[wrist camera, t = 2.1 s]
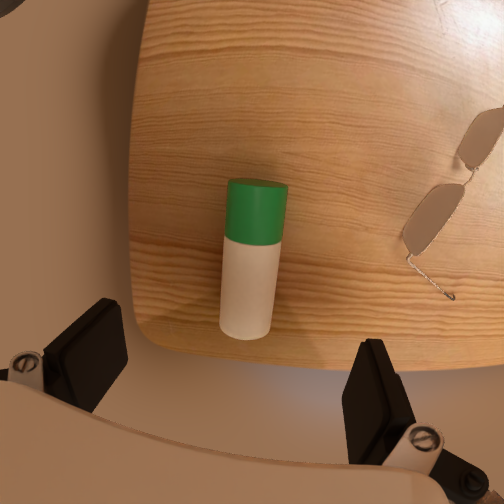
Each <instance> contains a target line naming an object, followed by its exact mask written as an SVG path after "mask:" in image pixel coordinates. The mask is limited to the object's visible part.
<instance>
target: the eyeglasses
mask: <svg viewBox="0 0 504 504" xmlns="http://www.w3.org/2000/svg"><path fill="white" fill-rule="evenodd" d="M503 129H504V105H503V108H496V109H491V110H488V111H485V112H483V113H481V114H480V115H479V116H477V118H476V119H475V120H474V121H473V123H472V124H471V126H470V127H469V129H468V131H467V132H466V134H465V136H464V138H463V140H462V142H461V144H460V147H459V150H458V155H459V157H460V158H461V160H462V161H463V162H464V163H465V166H466V168H467V169H468V170H470V171H472V172H473V174H472V176H471V178H470V179H469V181H468V182H466V183H465V184H464V185H461V184H445V185H441V186H438V187H436V188H434V189H433V190H432V191H431V192H430V193H429V194H428V195H427V196H426V197H425V198H424V200H423V201H422V202H421V203H420V205H419V206H418V207H417V209H416V210H415V211H414V213H413V214H412V216H411V217H410V219H409V220H408V222H407V224H406V226H405V228H404V230H403V240H404V243H405V245H406V247H407V249H408V250H409V252H410V253H409V254H408V256H407V257H406V260H407V262H408V263H409V264H410V265H411V266H412V267H413V268H415V269H416V270H417V271H418V272H419V273H421V274H422V275H423V276H424V277H425V278H427V279H428V280H429V281H430V282H431V283H433V284H434V285H435V286H436V287H437V288H438V289H440V288H439V287H438V286H437V285H436V284H435V283H434V282H433V281H432V280H431V279H430V278H428V277H427V276H426V275H425V274H424V273H423V272H422V271H421V270H420V269H418V268H417V267H416V266H415V265H414V264H413V263H412V262H410V258H411V257H412V256H413V255H414V256H416V257H417V256H419V255H421V254H422V253H423V252H424V251H425V250H426V249H427V248H428V247H429V245H430V244H431V243H432V242H433V241H434V239H435V238H436V237H437V236H438V234H439V233H440V232H441V231H442V229H443V228H444V226H445V225H446V224H447V222H448V221H449V220H450V218H451V217H452V215H453V214H454V212H455V211H456V209H457V208H458V206H459V204H460V203H461V201H462V199H463V197H464V194H465V186H466V185H468V184H469V183H470V182H471V180H472V179H473V177H474V175H475V171H478V170H479V168H478V167H479V166H481V165H482V164H483V163H484V162H485V161H486V160H487V158H488V157H489V155H490V154H491V152H492V151H493V149H494V147H495V145H496V143H497V142H498V140H499V138H500V136H501V134H502V132H503ZM440 290H441V289H440ZM441 291H442V292H443V293H444V294H445V295H446V296H447V297H448V298H450V299H451V300H453V301H454V300H455V296H454V295H453V297H454V298H451V297H450V296H449V295H448V294H446V293H445V292H444V291H443V290H441Z"/></svg>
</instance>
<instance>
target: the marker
mask: <svg viewBox="0 0 504 504" xmlns="http://www.w3.org/2000/svg"><path fill="white" fill-rule="evenodd" d="M287 192H288V186H287V185H285V184H282V183H278V182H273V181H266V180H257V179H231V180H229V181H228V191H227V204H226V218H225V233H224V234H225V235H224V248H223V265H222V282H221V301H220V322H219V325H220V328H221V330H222V331H223V332H224V333H225V334H227V335H228V336H230V337H233V338H236V339H241V340H254V339H259V338H261V337H263V336H265V335H266V334H267V333H268V332H269V330H270V324H271V317H272V310H273V303H274V296H275V289H276V281H277V274H278V266H279V258H280V251H281V243H282V235H283V226H284V218H285V210H286V201H287Z"/></svg>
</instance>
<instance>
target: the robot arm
mask: <svg viewBox="0 0 504 504" xmlns="http://www.w3.org/2000/svg"><path fill="white" fill-rule="evenodd" d="M43 351H44V355H43V356H42V357H41V356H40V354H38V353H36V352H33V351H24V352H21V353H19V354H17V355H15V356H14V357H13V358H12V359H11V361H10V364H9V368H8V369H2V370H0V504H504V499H503V498H502V497H501V496H500V495H498V493H497V492H496V491H494V490H493V491H492V492H490V491H489V490H488V487H489V480H488V478H487V475H486V474H485V473H484V472H483V471H482V470H481V469H479V468H477V467H476V466H474V465H472V464H470V463H468V462H466V461H464V460H463V459H461V458H459V457H457V456H456V455H454V454H452V453H450V452H448V451H447V450H445V449H443V446H444V437H443V435H442V432H441V431H440V430H439V429H438V428H437V427H435V426H434V425H431V424H429V423H423V422H420V423H416V420H415V417H414V414H413V411H412V408H411V406H410V402H409V400H408V397H407V394H406V392H405V389H404V386H403V384H402V381H401V379H400V376H399V375H398V374H395V371H394V368H393V366H392V363H391V361H390V358H389V355H388V353H387V350H386V348H385V345H384V343H383V341H382V340H381V339H369V338H368V339H366V341H365V342H361V344H360V346H359V349H358V352H357V355H356V358H355V361H354V364H353V367H352V370H351V372H350V375H349V378H348V381H347V383H346V386H345V389H344V391H343V394H342V406H343V415H344V423H345V431H346V440H347V449H348V459H349V464H322V463H306V462H293V461H292V462H291V461H282V460H272V459H263V458H256V457H249V456H243V455H237V454H230V453H225V452H220V451H215V450H210V449H205V448H200V447H196V446H192V445H187V444H184V443H180V442H176V441H172V440H168V439H164V438H161V437H158V436H154V435H151V434H148V433H145V432H141V431H138V430H135V429H132V428H129V427H126V426H123V425H121V424H117V423H115V422H112V421H110V420H107V419H104V418H102V417H99V416H96V415H94V414H92V412H93V411H94V409H95V408H96V406H97V405H98V403H99V402H100V400H101V399H102V398H103V396H104V395H105V393H106V392H107V390H108V389H109V388H110V387H111V385H112V384H113V383H114V381H115V379H116V378H117V377H118V376H119V374H120V373H121V372H122V370H123V369H124V367H125V366H126V364H127V361H128V355H127V349H126V343H125V336H124V329H123V322H122V314H121V307H120V305H118V304H117V301H115V300H111V299H107V298H102V299H100V300H99V301H98V302H97V303H96V304H94V305H93V306H92V307H91V308H90V309H88V310H87V311H86V312H85V313H84V314H83V315H82V316H80V317H79V318H78V319H77V320H76V321H75V322H74V323H72V324H71V325H70V326H69V327H68V328H67V329H66V330H65V331H63V332H62V333H61V334H60V335H59V336H58V337H57V338H56V339H55V340H53V341H52V342H51V343H50V344H49V345H48V346H47V347H46V348H45V349H43Z"/></svg>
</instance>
